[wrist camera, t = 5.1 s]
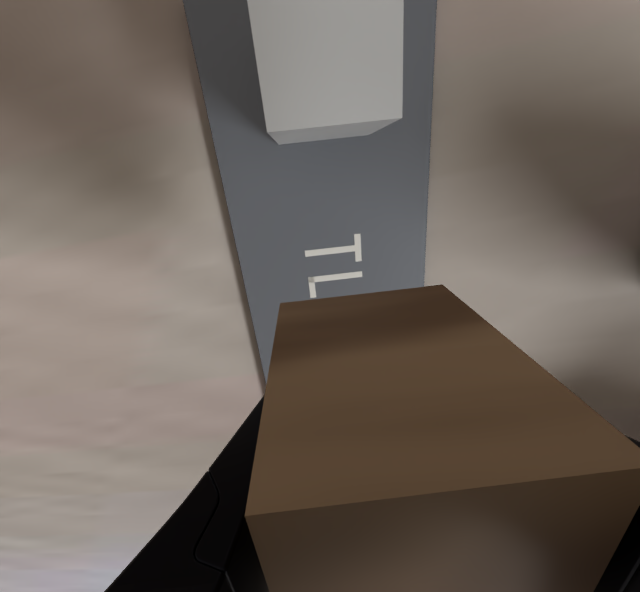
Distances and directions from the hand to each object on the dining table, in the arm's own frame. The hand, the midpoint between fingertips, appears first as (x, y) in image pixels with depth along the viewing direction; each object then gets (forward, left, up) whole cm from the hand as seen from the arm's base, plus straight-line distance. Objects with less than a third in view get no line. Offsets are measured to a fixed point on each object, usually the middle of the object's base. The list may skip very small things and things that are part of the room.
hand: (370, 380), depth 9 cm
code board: (0, 0, -12) cm, 12 cm away
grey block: (-6, -8, -11) cm, 15 cm away
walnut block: (0, 0, -1) cm, 1 cm away
